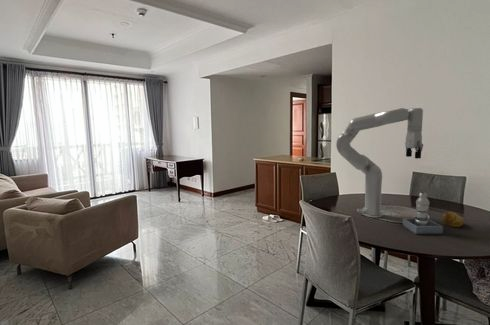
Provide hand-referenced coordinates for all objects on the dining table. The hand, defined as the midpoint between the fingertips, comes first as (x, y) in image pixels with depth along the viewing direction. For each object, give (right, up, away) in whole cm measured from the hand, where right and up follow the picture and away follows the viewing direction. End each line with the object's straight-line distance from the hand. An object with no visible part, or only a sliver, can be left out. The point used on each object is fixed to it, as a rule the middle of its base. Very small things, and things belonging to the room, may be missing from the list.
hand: (413, 157), depth 173 cm
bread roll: (+18, -39, -7) cm, 44 cm away
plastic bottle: (-3, -40, -13) cm, 42 cm away
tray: (-3, -41, -14) cm, 43 cm away
